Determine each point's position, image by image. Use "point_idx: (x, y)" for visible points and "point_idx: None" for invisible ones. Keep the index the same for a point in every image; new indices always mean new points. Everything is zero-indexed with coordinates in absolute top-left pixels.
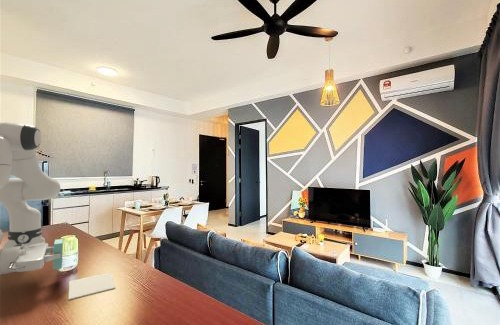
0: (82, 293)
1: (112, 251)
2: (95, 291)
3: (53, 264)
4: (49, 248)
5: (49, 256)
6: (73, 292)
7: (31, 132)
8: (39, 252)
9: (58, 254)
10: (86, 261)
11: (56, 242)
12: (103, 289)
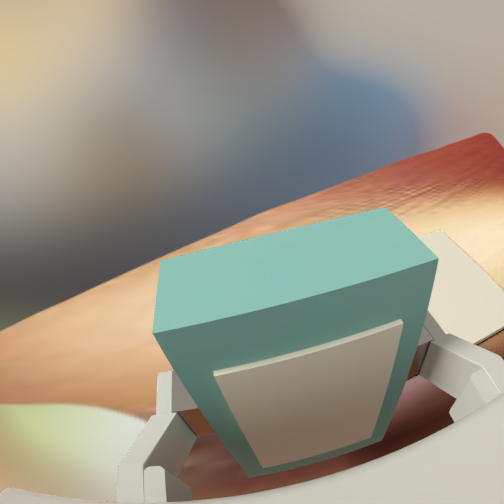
0: (487, 291)
1: (60, 313)
2: (470, 263)
3: (390, 420)
4: (167, 480)
5: (490, 357)
6: (485, 320)
7: None
8: (462, 490)
9: (427, 314)
10: (99, 385)
11: (347, 263)
12: (456, 249)
